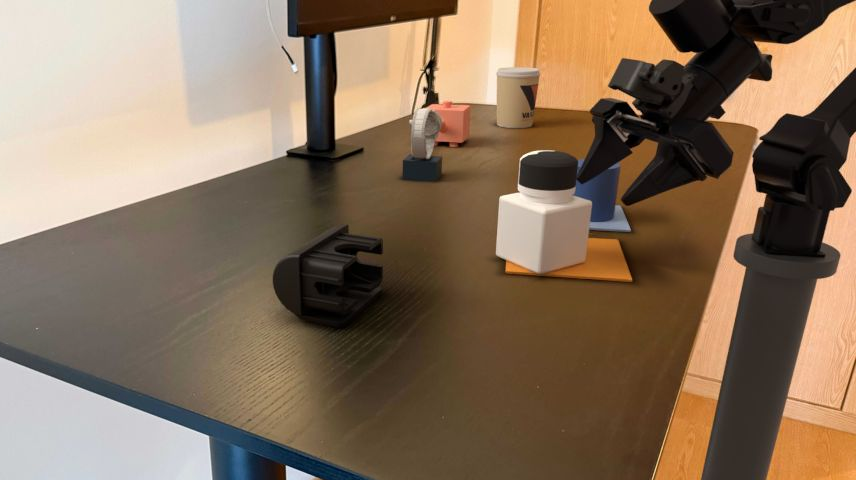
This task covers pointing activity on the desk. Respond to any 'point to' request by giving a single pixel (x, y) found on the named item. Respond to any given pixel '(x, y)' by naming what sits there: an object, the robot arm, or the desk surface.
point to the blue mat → (613, 223)
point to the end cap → (329, 277)
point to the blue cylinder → (600, 192)
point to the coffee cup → (516, 96)
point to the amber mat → (590, 263)
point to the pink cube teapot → (452, 122)
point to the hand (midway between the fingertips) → (599, 191)
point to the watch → (423, 147)
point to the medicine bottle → (544, 215)
